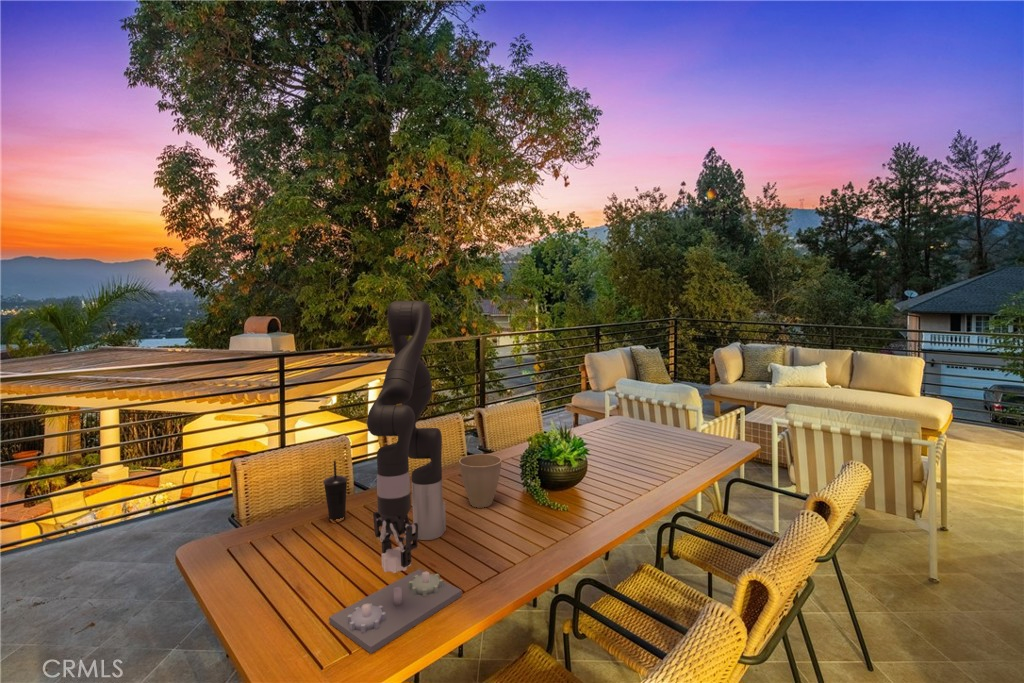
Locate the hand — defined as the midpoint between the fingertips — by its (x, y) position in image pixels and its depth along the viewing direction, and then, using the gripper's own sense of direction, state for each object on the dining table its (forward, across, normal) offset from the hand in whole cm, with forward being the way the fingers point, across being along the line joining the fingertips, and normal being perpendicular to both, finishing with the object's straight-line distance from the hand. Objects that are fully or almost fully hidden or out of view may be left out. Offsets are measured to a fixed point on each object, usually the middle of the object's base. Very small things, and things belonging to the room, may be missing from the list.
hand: (396, 560), depth 118 cm
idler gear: (+1, 0, 0) cm, 1 cm away
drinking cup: (+12, +56, -18) cm, 60 cm away
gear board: (+12, 0, 0) cm, 12 cm away
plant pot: (+11, +27, -57) cm, 64 cm away
